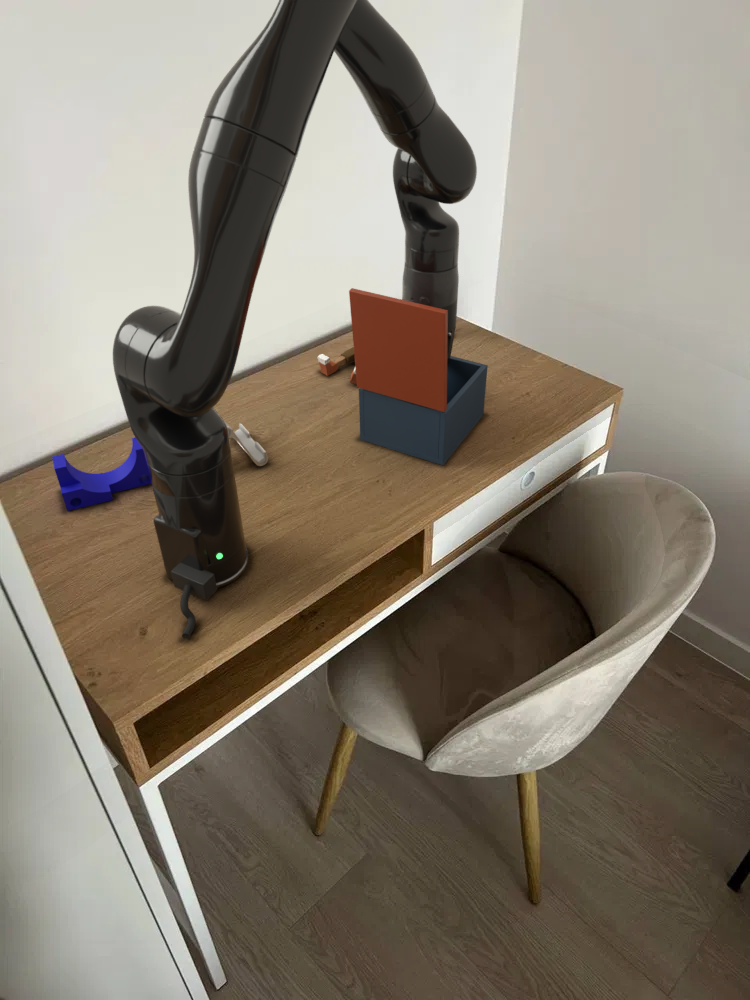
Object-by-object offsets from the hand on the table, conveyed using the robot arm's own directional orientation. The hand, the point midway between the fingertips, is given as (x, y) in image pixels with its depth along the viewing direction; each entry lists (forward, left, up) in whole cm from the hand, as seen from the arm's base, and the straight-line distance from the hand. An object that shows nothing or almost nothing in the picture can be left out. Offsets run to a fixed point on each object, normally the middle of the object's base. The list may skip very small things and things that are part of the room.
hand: (426, 400), depth 121 cm
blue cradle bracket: (-35, +31, -4) cm, 47 cm away
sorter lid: (-8, 0, +13) cm, 15 cm away
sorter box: (-1, 0, -4) cm, 4 cm away
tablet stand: (-21, +21, -4) cm, 30 cm away
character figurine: (+13, +17, -4) cm, 22 cm away
